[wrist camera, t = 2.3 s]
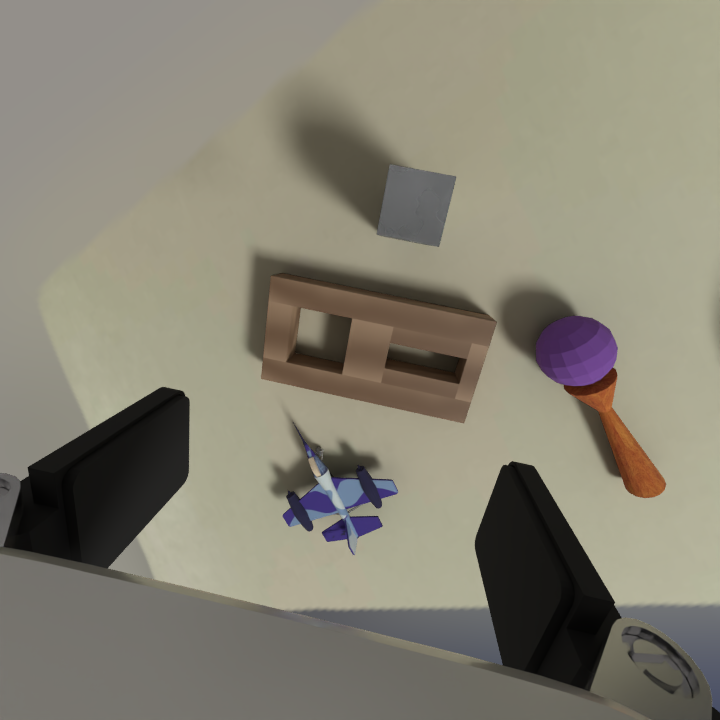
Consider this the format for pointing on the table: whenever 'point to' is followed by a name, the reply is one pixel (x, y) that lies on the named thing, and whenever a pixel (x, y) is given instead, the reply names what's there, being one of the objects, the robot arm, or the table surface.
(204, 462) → the table surface
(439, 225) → the square peg
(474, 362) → the socket block
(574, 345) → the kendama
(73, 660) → the robot arm
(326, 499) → the toy airplane
